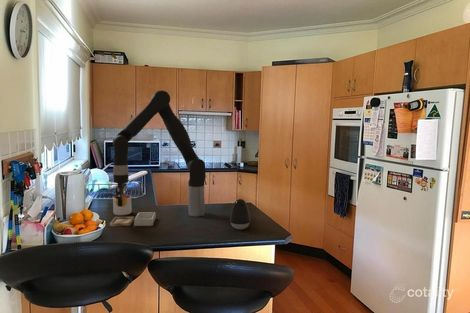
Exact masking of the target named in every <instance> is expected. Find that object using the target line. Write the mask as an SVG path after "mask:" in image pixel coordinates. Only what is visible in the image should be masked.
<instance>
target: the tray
mask: <svg viewBox="0 0 470 313" xmlns="http://www.w3.org/2000/svg"><path fill="white" fill-rule="evenodd" d="M134 219H135V216H115V217H114V218H112V220H111V221H110V222H109V227H130V226H131V224H132V223H133V222H134Z"/></svg>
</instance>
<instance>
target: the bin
mask: <svg viewBox="0 0 470 313" xmlns="http://www.w3.org/2000/svg"><path fill="white" fill-rule="evenodd" d="M155 220H156V211H150V212H149V211H148V212H147V211H146V212H138V213H137V214H136V216H134V220H133V226H134V227H152V226H153V225H154V223H155ZM153 227H154V226H153Z"/></svg>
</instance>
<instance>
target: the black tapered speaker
mask: <svg viewBox="0 0 470 313" xmlns="http://www.w3.org/2000/svg"><path fill="white" fill-rule="evenodd" d="M229 222H230V225H231V226H232V228H234V229H236V230H239V231H240V230H241V231H242V230H245V229H247V228H248V227H249V225H250V223H251V216H250V211H249V207H248V204H247V202H246V201H245V200H244V199H243V198H238V199H236V200H235V202H234V203H233V206H232V207H231V212H230V218H229Z"/></svg>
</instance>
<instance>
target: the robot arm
mask: <svg viewBox="0 0 470 313" xmlns="http://www.w3.org/2000/svg"><path fill="white" fill-rule="evenodd" d="M150 99H151V100H150V102H149V103H148V104H147V105H146V106H145V107H144V109H142V110H141V111H140V112H139V113H137V115H135V117H134V118H132V119H131V121H129V122H128V123H127V124H126V125H125V127H124V128H123V129H122V130H121V131H120V132H117V134H116V135H115V136H114V137H113V139H112V145H113V147H114V155H113V168H112V169H113V170H112V171H113V172H112V174H113V175H112V177H113V183H114V184H117V186H116V187H115V196H116V199H118V206H122V205H123V204H122V199H123V196H126V195H127V183H129V181H130V180H129V165H128V164H129V162H128V160H129V158H128V152H129V142H130V141H131V140H132V138H134V137H136V136H137V135H138V134H139V133H140V132H141V131H142V130H143V129H144V128H145V126H146V125H147V124H148V123H149V122H150V121H151V120H152V119H153V118H154V117H155V116H156V115H157V114H159V116H160V118H161V119H162V121H163V124H164V127H165V128H166V130H167V132H168V135H169V136H170V137H171V139H172V141H173V143H174V145H175V146H176V147H177V150H178V151H179V152H180V154H181V155H182V158H183V160H184V162H185V165H186V168H187V170H188V172H189V177H188V178H189V179H188V182H187V184H188V186H187V187H188V188H187V189H188V192H187V193H188V194H187V195H188V196H187V197H188V199H187V200H188V201H187V202H188V206H187V207H188V216H189V217H202V216H203V217H204V216H205V213H206V212H205V208H206V207H205V204H206V203H205V200H206V199H205V182H206V172H207V171H206V163H205V161H204V160H203V159H201V158H200V157H199V156H198V154H197V153H196V152H195V150H194V148H193V145H192V142H191V138H190V135H189V133H188V131H187V129H186V127H185V126H184V124H183V123H182V121H181V120H180V118H178V117H177V115H176V114H175V113H174V111H173V109H172V108H171V105H170V102H171V94H170V93H168V92H167V91H166V90H163V89H162V90H161V89H160V90H157V91H156V92H154V93H153V94H152V95H151V98H150ZM119 196H120V197H119Z"/></svg>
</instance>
